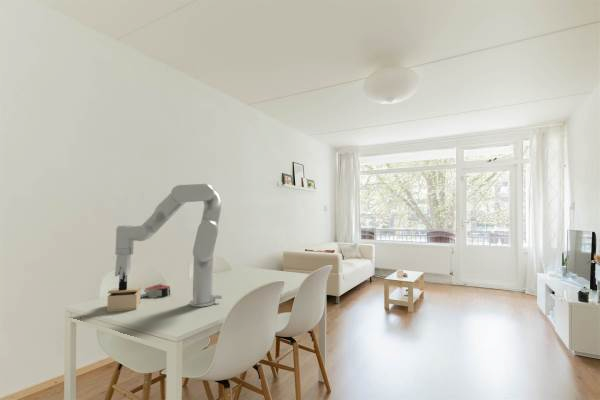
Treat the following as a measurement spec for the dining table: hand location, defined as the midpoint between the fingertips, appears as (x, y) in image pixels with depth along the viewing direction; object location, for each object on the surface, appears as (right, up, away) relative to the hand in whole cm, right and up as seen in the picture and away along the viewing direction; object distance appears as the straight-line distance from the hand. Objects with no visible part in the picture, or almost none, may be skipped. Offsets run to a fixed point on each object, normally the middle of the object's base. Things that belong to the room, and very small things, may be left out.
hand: (122, 289), depth 152 cm
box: (-1, -9, +3) cm, 9 cm away
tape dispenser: (+3, -11, +23) cm, 26 cm away
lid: (0, -1, +3) cm, 3 cm away
